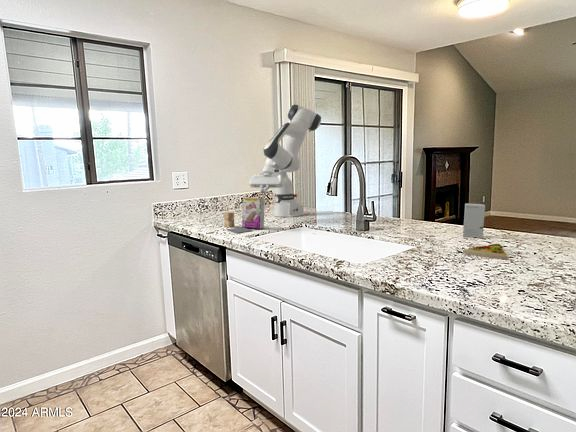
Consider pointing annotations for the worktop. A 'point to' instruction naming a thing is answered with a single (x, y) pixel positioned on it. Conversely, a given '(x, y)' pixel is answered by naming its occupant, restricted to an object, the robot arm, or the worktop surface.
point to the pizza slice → (488, 251)
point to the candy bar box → (253, 213)
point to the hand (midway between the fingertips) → (263, 192)
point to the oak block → (229, 219)
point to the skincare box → (474, 220)
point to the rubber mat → (239, 230)
